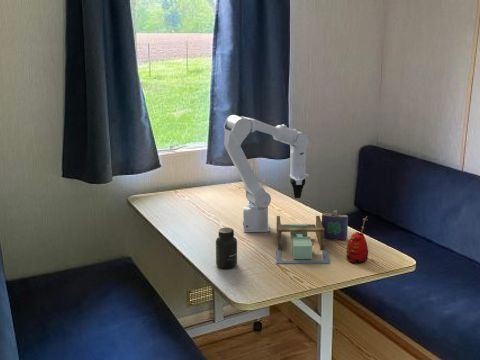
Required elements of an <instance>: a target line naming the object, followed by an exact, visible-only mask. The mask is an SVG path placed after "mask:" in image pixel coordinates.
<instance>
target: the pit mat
mask: <svg viewBox="0 0 480 360" xmlns="http://www.w3.org/2000/svg"><path fill="white" fill-rule="evenodd" d="M290 224H291V223H289V224H288V223H287V224H282V223H281V228H290ZM306 224H307V225H308V226H307V228H316V223H314V224H313V223H312V224H308V223H306Z"/></svg>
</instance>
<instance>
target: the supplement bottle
mask: <svg viewBox="0 0 480 360" xmlns="http://www.w3.org/2000/svg"><path fill="white" fill-rule="evenodd" d="M234 230H235V229H233V228H232V227H222V228H219V229H218V237H217V238H216V239H215V264H216V265H215V266H216V267H217V268H219V269H222V270H231V269H234V268H236V267H237V265H238V240H237V238H236V237H235V231H234Z"/></svg>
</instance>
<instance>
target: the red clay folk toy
mask: <svg viewBox="0 0 480 360" xmlns="http://www.w3.org/2000/svg"><path fill="white" fill-rule="evenodd" d="M367 218H368V216H367V215H366V217H364V218H362V221H363V223H362V226H361V231H360V232H359V231H355V232H354V233H353V234H351V236H350V239H347V245H346V253H345V254H346V257H345V258H346V260H347V261H349V262H350V263H352V264H355V263H357V264H360V263H363V262H365V261H367V260H368V258H369V249H368V243H367V240H366V237H365V235H364V233H363V230H364V229H365V226H364V225H365V222H366V221H368V220H369V219H367Z"/></svg>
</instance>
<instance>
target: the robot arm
mask: <svg viewBox="0 0 480 360" xmlns="http://www.w3.org/2000/svg"><path fill="white" fill-rule="evenodd" d="M222 128H223V130H224V137H223V138H224V139H223V141H224V143H223V144H224V148H225V150H226V152H227V153H228V155H229V157H230V159H231V162H232V163H233V165H234V167H235V170H236V171H237V173H238V175H239V177H240V179H241V181H242V182H243V185H244V188H243V189H244V191H245V198H246V200H247V201H248V205H243V208H242V209H243V213H242V214H243V216H242V217H243V218H242V219H243V220H242V226H243V233H270V223H269V206H270V204H271V201H272V197H271V195H270V193H268V192H267V191H266V190H265V188H264V187H263V185H262V184H261V183H260V181H259V180H258V178H257V177H256V174H255V173H254V170H253V169H252V166H251V164H250V162H249V160H248V158H247V156H246V154H245V152H244V151H243V148H242V144H243V142H244V140H245V139H246V138H247V136H249V134H250V133H254V132H256V131H258V132H261V133H264V134H268V135H270V136H272V138H273V140H275V141H277V142H280V143H284V144H287V145H289V146H290V151H289V152H290V155H289V156H290V159H289V160H290V162H289V163H290V166H289V167H290V168H289V170H290V171H289V178H290V179H289V181H290V184H291V186H292V189H293V195H294V198H295V199H301V197H302V193H303V189H304V186H305V184H306V179H305V178H309V173H306V168H307V167H306V166H307V165H306V158H307V152H306V151H307V147H308V145H309V143H310V140H309V138H308V135H307V134H306V133H303V132H301V131H298V129H297V128H290V127H287V125H286V124H284V123H283V124H278V125H276V126H273V125H271V124H268V123H265V122H263V121H260V120H258V119H255V118H252V117H247V116H243V115H241V116H239V115H237V114H231V115H229V116H228V117H227V118H226V119H225V122H224V124H223V127H222Z"/></svg>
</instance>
